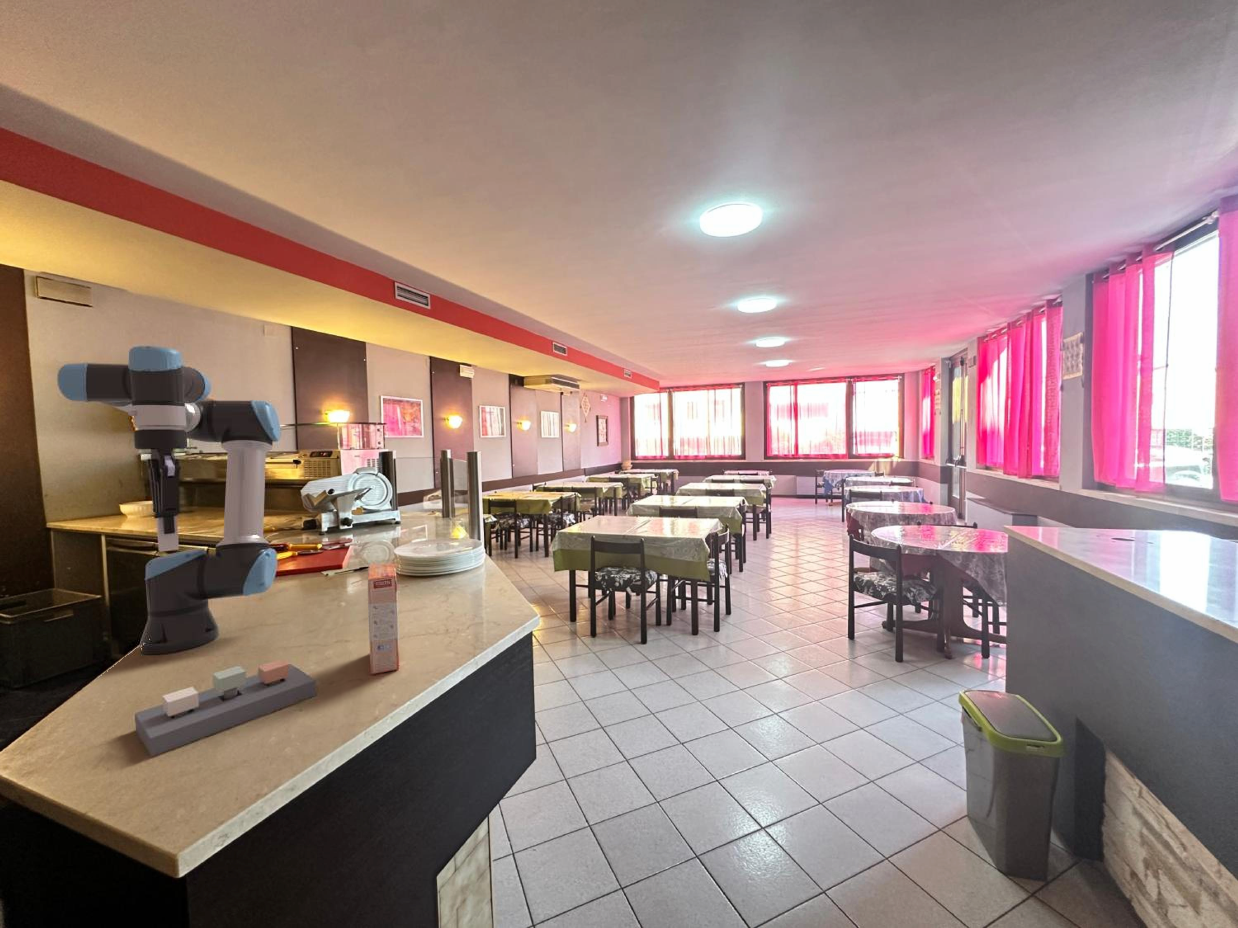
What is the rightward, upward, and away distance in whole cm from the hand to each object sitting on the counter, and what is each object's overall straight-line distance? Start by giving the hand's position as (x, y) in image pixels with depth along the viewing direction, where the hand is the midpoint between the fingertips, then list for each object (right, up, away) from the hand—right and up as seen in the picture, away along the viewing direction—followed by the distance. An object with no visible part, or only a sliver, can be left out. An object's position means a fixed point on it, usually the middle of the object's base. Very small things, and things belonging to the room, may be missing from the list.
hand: (168, 549), depth 97 cm
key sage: (+16, -27, -4) cm, 32 cm away
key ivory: (+11, -29, -10) cm, 32 cm away
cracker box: (+35, -28, +16) cm, 48 cm away
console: (+16, -29, -4) cm, 34 cm away
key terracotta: (+20, -28, +1) cm, 35 cm away
